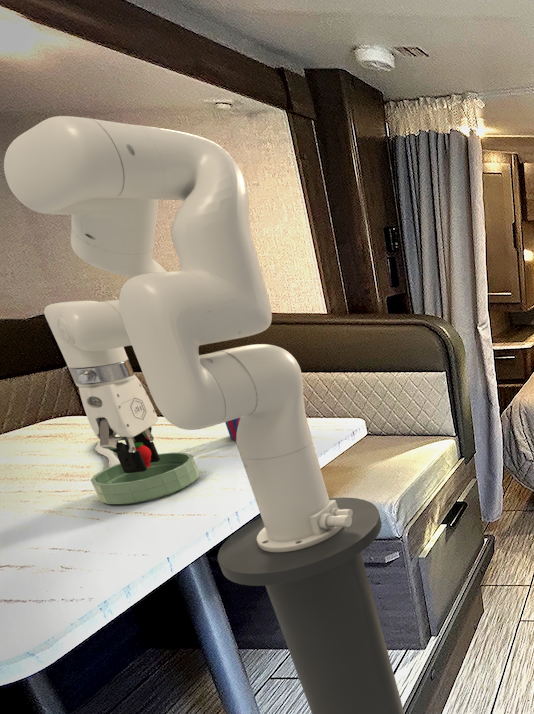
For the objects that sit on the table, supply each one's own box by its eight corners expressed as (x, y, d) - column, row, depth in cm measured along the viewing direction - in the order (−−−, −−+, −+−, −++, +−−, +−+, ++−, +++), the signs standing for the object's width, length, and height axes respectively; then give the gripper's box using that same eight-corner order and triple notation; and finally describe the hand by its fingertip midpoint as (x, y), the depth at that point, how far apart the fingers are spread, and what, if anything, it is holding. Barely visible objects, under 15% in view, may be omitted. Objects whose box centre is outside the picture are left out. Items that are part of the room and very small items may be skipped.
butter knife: (105, 472, 103) (125, 466, 105) (91, 442, 119) (109, 438, 121) (106, 474, 103) (126, 468, 105) (93, 445, 119) (110, 440, 121)
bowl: (218, 472, 103) (210, 452, 101) (153, 507, 90) (143, 485, 88) (152, 472, 104) (144, 452, 102) (78, 507, 91) (67, 484, 89)
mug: (266, 428, 127) (258, 403, 124) (259, 441, 118) (250, 414, 116) (234, 433, 124) (225, 407, 121) (224, 447, 115) (214, 419, 113)
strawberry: (161, 463, 97) (152, 441, 95) (142, 471, 93) (133, 449, 92) (143, 463, 97) (133, 440, 95) (123, 471, 93) (113, 448, 92)
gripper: (99, 383, 82) (142, 483, 89) (155, 361, 97) (188, 447, 104) (40, 388, 80) (89, 489, 87) (107, 364, 95) (144, 452, 101)
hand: (142, 465), depth 95 cm, fingers closed on strawberry, 3 cm apart
